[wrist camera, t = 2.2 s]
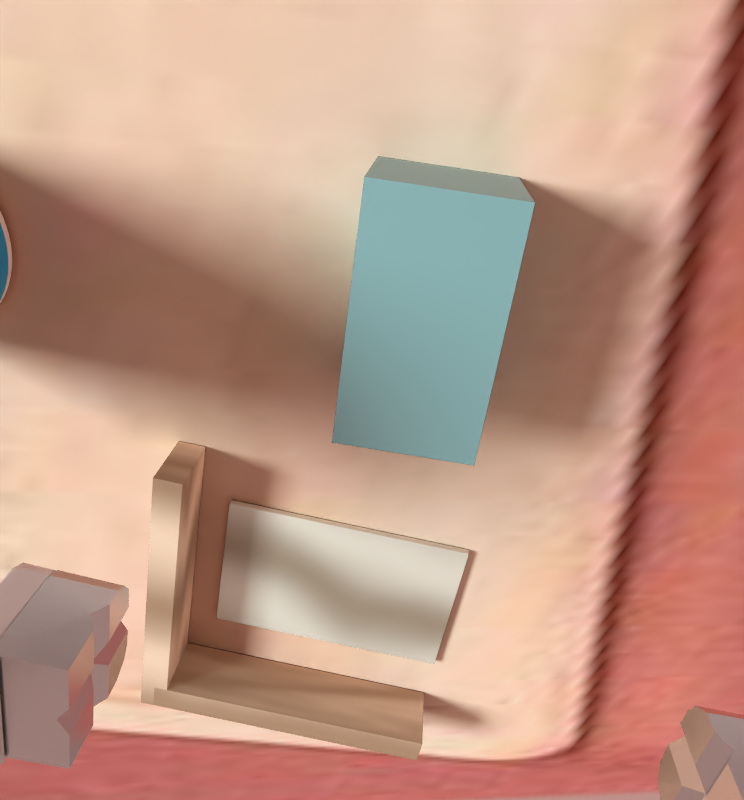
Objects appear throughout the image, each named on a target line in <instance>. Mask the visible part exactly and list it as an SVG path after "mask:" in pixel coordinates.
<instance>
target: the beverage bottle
mask: <svg viewBox="0 0 744 800" xmlns="http://www.w3.org/2000/svg"><path fill="white" fill-rule="evenodd" d="M11 271H12V249H11V242H10V237H9V233H8V230H7V226H6V223H5V221H4V218H3V216H2V213H1V211H0V303H1V302H2V300H3V298H4V296H5V294H6V291H7V289H8V286H9V282H10V278H11Z"/></svg>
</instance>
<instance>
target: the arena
mask: <svg viewBox="0 0 744 800" xmlns="http://www.w3.org/2000/svg"><path fill="white" fill-rule="evenodd" d="M204 458H205V447H203V446H199V445H194V444H189V443H184V442H180V441H179V442H178V443H177V444H176V446H175V447H174V449H173V450H172V452H171V453H170V454H169V456H168V457H167V459H166V460H165V462H164V463H163V465H162V466H161V467H160V469H159V470H158V472H157V473H156V475H155V476H154V477H153V489H152V508H151V526H150V545H149V564H148V583H147V601H146V620H145V639H144V658H143V676H142V695H141V702H143V703H147V704H152V705H157V706H162V707H166V708H171V709H176V710H181V711H185V712H190V713H195V714H200V715H204V716H209V717H214V718H219V719H223V720H228V721H233V722H238V723H242V724H247V725H252V726H257V727H261V728H266V729H271V730H276V731H280V732H285V733H290V734H295V735H299V736H304V737H309V738H314V739H318V740H323V741H328V742H332V743H337V744H342V745H347V746H351V747H356V748H361V749H366V750H370V751H375V752H380V753H385V754H389V755H394V756H399V757H404V758H408V759H413V760H417V758H418V755H419V752H420V749H421V746H422V731H423V700H424V693H423V692H418V691H413V690H409V689H404V688H399V687H394V686H390V685H385V684H380V683H375V682H371V681H366V680H361V679H356V678H352V677H347V676H342V675H337V674H333V673H328V672H323V671H318V670H314V669H309V668H304V667H299V666H295V665H290V664H285V663H280V662H276V661H271V660H266V659H261V658H257V657H252V656H247V655H242V654H238V653H233V652H228V651H223V650H219V649H214V648H209V647H204V646H200V645H195V644H190V643H188V632H189V621H190V610H191V599H192V589H193V578H194V567H195V556H196V545H197V534H198V523H199V512H200V501H201V490H202V480H203V469H204ZM468 555H469V550H467V549H462V548H457V547H453V546H448V545H443V544H438V543H434V542H429V541H424V540H419V539H415V538H410V537H405V536H400V535H396V534H391V533H386V532H381V531H377V530H372V529H367V528H362V527H358V526H353V525H348V524H343V523H339V522H334V521H329V520H324V519H320V518H315V517H310V516H305V515H301V514H296V513H291V512H286V511H282V510H277V509H272V508H267V507H263V506H258V505H253V504H248V503H244V502H239V501H234V500H231V502H230V504H229V513H228V522H227V531H226V539H225V548H224V557H223V565H222V574H221V583H220V592H219V600H218V609H217V619H222V620H227V621H232V622H236V623H241V624H246V625H251V626H255V627H260V628H265V629H270V630H274V631H279V632H284V633H289V634H293V635H298V636H303V637H307V638H312V639H317V640H322V641H326V642H331V643H336V644H341V645H345V646H350V647H355V648H360V649H364V650H369V651H374V652H379V653H383V654H388V655H393V656H398V657H402V658H407V659H412V660H417V661H421V662H426V663H431V664H434V663H435V660H436V657H437V653H438V650H439V647H440V644H441V641H442V638H443V634H444V631H445V628H446V625H447V622H448V619H449V615H450V612H451V609H452V606H453V603H454V600H455V597H456V593H457V590H458V587H459V584H460V581H461V578H462V574H463V571H464V568H465V565H466V562H467V559H468Z"/></svg>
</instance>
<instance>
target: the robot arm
mask: <svg viewBox="0 0 744 800" xmlns="http://www.w3.org/2000/svg"><path fill="white" fill-rule="evenodd" d="M128 607H129V589H128V588H126V587H125V586H123V585H118V584H114V583H110V582H106V581H102V580H97V579H93V578H89V577H85V576H80V575H76V574H72V573H68V572H64V571H59V570H57V571H56V570H52V569H48V568H43V567H39V566H35V565H31V564H27V563H22V564H20V565H18V566H16V567H14V568H13V569H12V570H11V571H10V572H9V573H8V574H7V575H6V576H5V578H4V579H3V580H2V581H1V582H0V765H1V764H2V763H3V762H5V757H7V758H13V759H19V760H24V761H30V762H35V763H41V764H46V765H52V766H57V767H63V768H69V769H70V767H71V765H72V763H73V761H74V760H75V758H76V756H77V754H78V752H79V750H80V748H81V747H82V745H83V743H84V741H85V739H86V737H87V735H88V734H89V732H90V730H91V728H92V726H93V706H95V705H97V704H98V703H100V702H102V701H103V700H105V699H107V698H108V696H109V694H110V692H111V690H112V688H113V686H114V684H115V682H116V680H117V678H118V675H119V672H120V669H121V666H122V663H123V661H124V656H125V651H126V646H127V634H128V630H127V629H126V627H125V626H124V625H123V623H122V622H121V620H122V618H123V616H124V614H125V613H126V611H127V609H128ZM681 726H682V729H683V732H684V735H685V736H684V737H682V738H680V739H678V740H676V741H674V742H672V743H671V744H669V745H668V747H667V749H666V751H665V753H664V755H663V757H662V759H661V762H660V770H659V778H658V784H659V793H660V799H661V800H744V715H740V714H735V713H730V712H725V711H720V710H715V709H710V708H705V707H700V706H695V707H693V708H692V709H690V710H688V711H687V713H686V715H685V716H684V718H683V720H682V722H681Z"/></svg>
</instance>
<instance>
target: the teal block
mask: <svg viewBox="0 0 744 800" xmlns="http://www.w3.org/2000/svg"><path fill="white" fill-rule="evenodd" d="M534 205H535V202H534V200H533V199H532V197H531V195H530V194H529V192H528V191H527V189H526V188H525V186H524V185H523V183H522V181H521V180H520V178H519V177H513V176H506V175H500V174H493V173H487V172H480V171H473V170H467V169H460V168H453V167H447V166H440V165H434V164H427V163H420V162H414V161H407V160H401V159H394V158H387V157H381V156H378V157H377V159H376V160H375V162H374V163H373V165H372V166H371V168H370V169H369V171H368V172H367V174H366V175H365V177H364V184H363V192H362V200H361V209H360V217H359V225H358V233H357V241H356V250H355V258H354V266H353V274H352V282H351V290H350V299H349V307H348V315H347V323H346V331H345V340H344V348H343V356H342V364H341V372H340V380H339V389H338V397H337V405H336V413H335V421H334V430H333V438H332V443H338V444H344V445H351V446H357V447H363V448H369V449H375V450H382V451H388V452H394V453H400V454H406V455H413V456H419V457H425V458H431V459H437V460H443V461H450V462H456V463H462V464H468V465H474V464H475V460H476V455H477V451H478V447H479V442H480V438H481V434H482V429H483V425H484V421H485V417H486V412H487V408H488V404H489V399H490V395H491V391H492V386H493V382H494V378H495V373H496V369H497V365H498V361H499V356H500V352H501V348H502V343H503V339H504V335H505V330H506V326H507V322H508V317H509V313H510V309H511V304H512V300H513V296H514V292H515V287H516V283H517V279H518V274H519V270H520V266H521V261H522V257H523V253H524V248H525V244H526V240H527V236H528V231H529V227H530V223H531V218H532V214H533V210H534Z"/></svg>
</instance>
